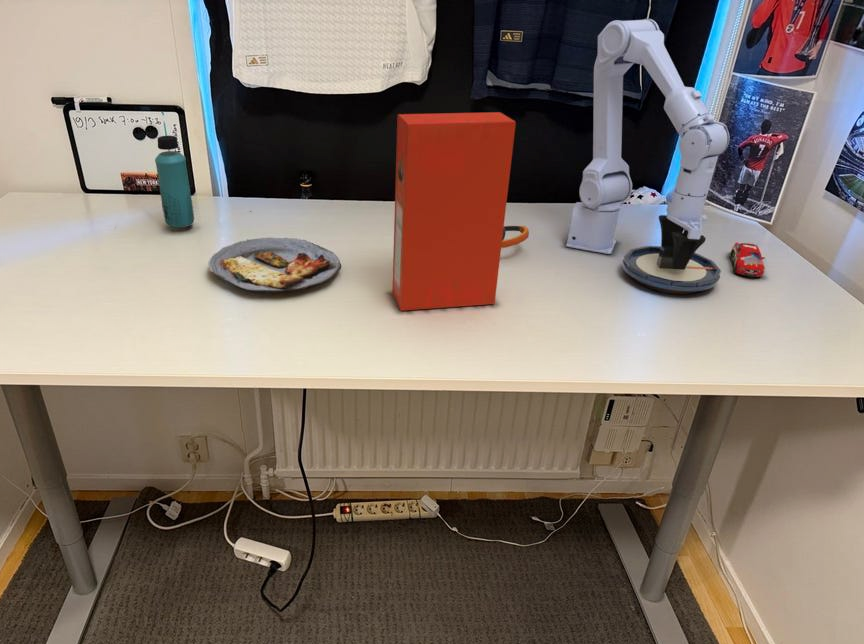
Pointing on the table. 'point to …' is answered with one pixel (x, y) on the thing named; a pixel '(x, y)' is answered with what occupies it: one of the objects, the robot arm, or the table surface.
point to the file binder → (450, 207)
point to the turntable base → (665, 289)
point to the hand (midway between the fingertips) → (672, 260)
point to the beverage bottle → (174, 184)
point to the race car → (747, 259)
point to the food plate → (275, 264)
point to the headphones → (514, 240)
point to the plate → (670, 269)
